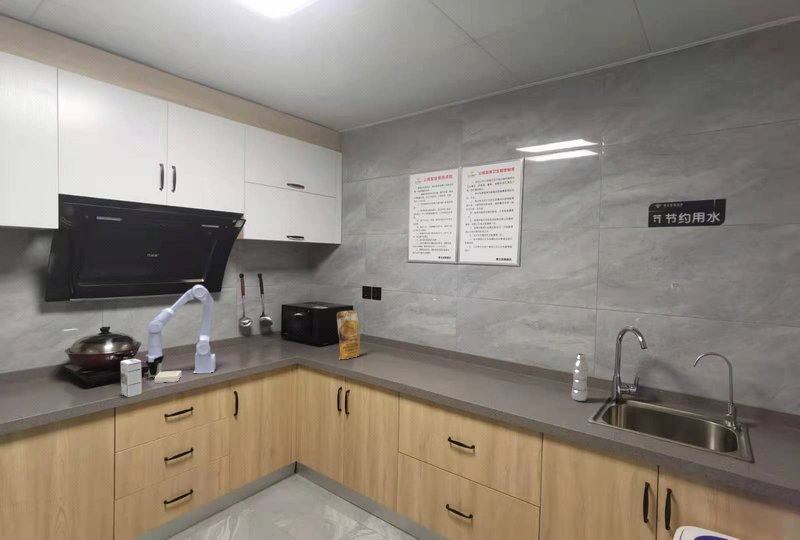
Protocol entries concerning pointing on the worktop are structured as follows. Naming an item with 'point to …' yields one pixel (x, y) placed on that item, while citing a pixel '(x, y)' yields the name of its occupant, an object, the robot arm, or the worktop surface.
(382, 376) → the worktop surface
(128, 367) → the syrup box
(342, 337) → the pancake mix bag
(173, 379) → the bin
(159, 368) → the block
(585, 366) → the plastic bottle
